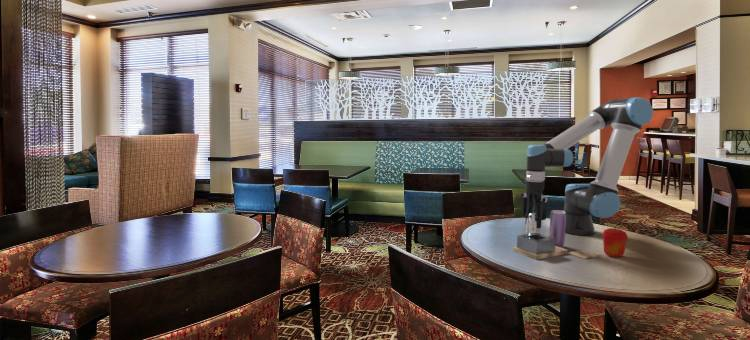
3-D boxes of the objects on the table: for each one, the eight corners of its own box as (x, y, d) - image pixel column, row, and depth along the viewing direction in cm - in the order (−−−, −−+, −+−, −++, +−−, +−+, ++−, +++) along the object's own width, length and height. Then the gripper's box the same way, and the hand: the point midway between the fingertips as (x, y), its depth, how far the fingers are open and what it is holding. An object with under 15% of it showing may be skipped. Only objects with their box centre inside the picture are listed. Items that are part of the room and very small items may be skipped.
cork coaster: (581, 251, 167) (581, 249, 166) (597, 256, 160) (597, 254, 160) (569, 253, 164) (569, 252, 163) (585, 258, 157) (585, 257, 157)
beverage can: (565, 249, 170) (567, 213, 168) (550, 248, 171) (552, 212, 169) (562, 244, 175) (564, 210, 174) (547, 244, 177) (549, 209, 175)
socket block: (535, 244, 171) (535, 232, 170) (554, 251, 162) (555, 238, 161) (516, 247, 167) (517, 235, 166) (536, 254, 158) (536, 241, 157)
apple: (630, 259, 157) (632, 229, 156) (608, 259, 157) (610, 228, 156) (618, 252, 165) (620, 223, 164) (597, 252, 166) (598, 223, 164)
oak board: (543, 245, 174) (543, 242, 174) (567, 253, 164) (567, 249, 164) (513, 250, 167) (513, 247, 167) (536, 259, 156) (536, 255, 156)
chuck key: (533, 240, 183) (535, 212, 181) (540, 242, 179) (541, 214, 178) (524, 241, 180) (525, 213, 179) (531, 243, 177) (532, 215, 176)
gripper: (514, 178, 183) (512, 230, 185) (544, 183, 168) (541, 239, 170) (526, 177, 186) (524, 228, 189) (557, 182, 171) (554, 237, 174)
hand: (532, 233), depth 179 cm, fingers closed on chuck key, 4 cm apart
